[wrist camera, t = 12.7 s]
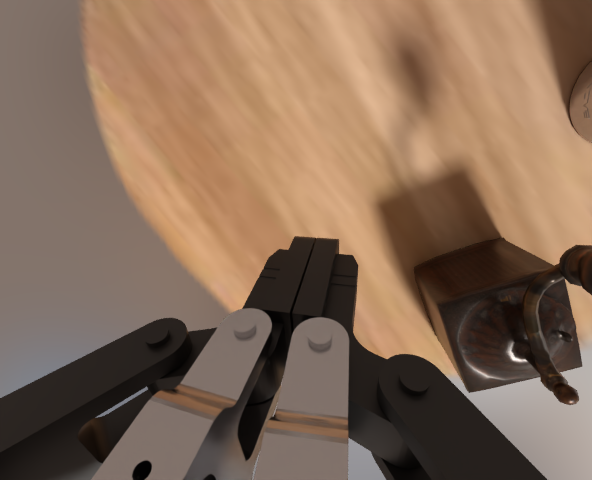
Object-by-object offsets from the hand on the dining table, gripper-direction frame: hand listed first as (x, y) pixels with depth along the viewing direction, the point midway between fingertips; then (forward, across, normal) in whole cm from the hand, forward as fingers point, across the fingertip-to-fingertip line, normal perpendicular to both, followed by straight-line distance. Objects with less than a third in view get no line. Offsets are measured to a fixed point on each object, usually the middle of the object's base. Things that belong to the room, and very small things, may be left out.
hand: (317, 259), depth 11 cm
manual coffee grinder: (+23, -13, +17) cm, 31 cm away
